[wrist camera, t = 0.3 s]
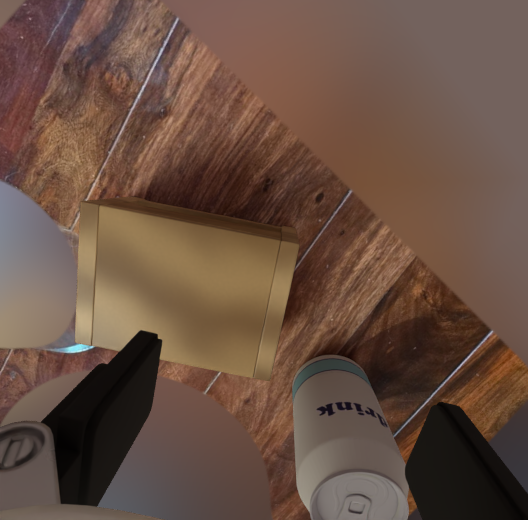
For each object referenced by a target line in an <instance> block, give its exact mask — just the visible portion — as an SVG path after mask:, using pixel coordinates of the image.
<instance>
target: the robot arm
mask: <svg viewBox="0 0 528 520" xmlns="http://www.w3.org/2000/svg"><path fill="white" fill-rule="evenodd" d="M161 348H162V339H158V334H156V333H152V332H148V331H144V330H140V331H139V332H138V333H137V334H136V335H135V336H134V337H133V338H132V339H131V340H130V341H129V342H128V343H127V344H126V345H125V347H124V348H123V349H122V350H121V351H120V352H119V353H118V354H117V355H116V356H115V357H114V358H113V359H112V360H111V361H110V362H109V363H108V364H104V363H101V364H99V365H98V366H96V367H95V368H94V369H93V370H92V371H91V372H90V373H89V374H88V375H87V376H86V377H85V378H84V379H83V380H82V381H81V382H80V383H79V384H78V385H77V387H75V388H74V389H73V390H72V391H71V392H70V393H69V394H68V395H67V396H66V397H65V399H63V400H62V401H61V402H60V403H59V404H58V405H57V406H56V407H55V408H54V409H53V410H52V411H51V412H50V413H49V415H47V416H46V417H45V418H44V419H43V420H42V421H41V422H37V421H21V422H14V423H11V424H8V425H5V426H2V427H0V520H164V519H158V518H154V517H149V516H144V515H140V514H135V513H130V512H125V511H120V510H114V509H108V508H101V507H97V506H98V504H99V502H100V500H101V499H102V497H103V495H104V493H105V492H106V490H107V488H108V486H109V485H110V483H111V481H112V479H113V478H114V476H115V474H116V472H117V471H118V469H119V467H120V465H121V463H122V462H123V460H124V458H125V456H126V454H127V453H128V451H129V449H130V448H131V446H132V444H133V442H134V441H135V439H136V437H137V435H138V433H139V432H140V430H141V428H142V426H143V424H144V423H145V421H146V419H147V418H148V416H149V413H150V411H151V407H152V403H153V397H154V390H155V385H156V379H157V373H158V366H159V360H160V354H161ZM405 478H406V481H407V483H408V485H409V488H410V490H411V493H412V495H413V498H414V500H415V503H416V505H417V507H418V510H419V512H420V515H421V517H422V519H423V520H528V494H527V492H526V491H525V490H524V489H523V487H522V486H521V485H520V483H519V482H518V481H517V479H516V478H515V477H514V476H513V474H512V473H511V472H510V470H509V469H508V468H507V467H506V465H505V464H504V463H503V461H502V460H501V459H500V457H499V456H498V455H497V454H496V452H495V451H494V450H493V449H492V447H491V446H490V445H489V443H488V442H487V441H486V439H485V438H484V437H483V436H482V434H481V433H480V432H479V430H478V429H477V428H476V427H475V425H474V424H473V423H472V421H471V420H470V419H469V418H468V416H467V415H466V414H465V412H464V411H463V410H462V409H461V408H460V407H459V406H456V405H452V404H448V403H444V402H439V403H438V404H437V405H433V406H432V407H431V409H430V412H429V414H428V416H427V418H426V421H425V423H424V425H423V427H422V430H421V432H420V434H419V436H418V439H417V441H416V443H415V445H414V448H413V450H412V452H411V455H410V457H409V459H408V461H407V464H406V466H405Z"/></svg>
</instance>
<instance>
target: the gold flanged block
mask: <svg viewBox="0 0 528 520" xmlns="http://www.w3.org/2000/svg"><path fill="white" fill-rule="evenodd" d="M299 246H300V244H299V240H298V236H297V233H296V229H295V228H292V227H287V226H281V227H280V226H275V225H270V224H265V223H260V222H255V221H250V220H244V219H239V218H234V217H229V216H224V215H219V214H213V213H208V212H203V211H198V210H193V209H188V208H183V207H177V206H172V205H167V204H162V203H157V202H152V201H147V200H146V199H143V198H138V197H133V196H132V197H121V198H110V199H99V200H88V201H81V202H80V225H79V250H78V276H77V301H76V326H75V343H79V344H84V345H89V346H95V347H100V348H105V349H110V350H115V351H121V350H122V349H123V348H124V347H125V345H126V344H127V343H128V342H129V341H130V340H131V339H132V338H133V337H134V336H135V335H136V334H137V333H138V332H139V331H140V330H144V331H148V332H152V333H156V334H158V339H162V348H161V354H160V360H165V361H170V362H175V363H180V364H185V365H190V366H195V367H200V368H205V369H210V370H215V371H220V372H225V373H230V374H235V375H240V376H245V377H250V378H253V377H254V378H255V379H260V380H265V381H270V379H271V374H272V370H273V365H274V360H275V356H276V351H277V347H278V342H279V338H280V333H281V328H282V324H283V319H284V315H285V310H286V306H287V301H288V297H289V292H290V287H291V283H292V278H293V274H294V269H295V265H296V260H297V255H298V251H299Z"/></svg>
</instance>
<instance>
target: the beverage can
mask: <svg viewBox="0 0 528 520" xmlns="http://www.w3.org/2000/svg"><path fill="white" fill-rule="evenodd" d="M292 394H293V416H294V438H295V460H296V481H297V489H298V492H299V495H300V497H301V499H302V501H303V503H304V504H305V506H306V507H307V509H308V510H309V512H310V516H311V519H312V520H407V518H408V513H409V507H408V502H407V496H408V490H409V485H408V483H407V481H406V478H405V466H406V465H405V463H404V461H403V458H402V456H401V454H400V451H399V449H398V447H397V444H396V442H395V440H394V437H393V435H392V433H391V431H390V428H389V426H388V424H387V421H386V419H385V417H384V414H383V412H382V410H381V408H380V405H379V403H378V401H377V398H376V396H375V394H374V391H373V389H372V387H371V385H370V382H369V380H368V378H367V375H366V373H365V372H364V370H363V369H362V368H361V367H360V366H359V365H358V364H357V363H356V362H354V361H353V360H351V359H349V358H346V357H343V356H339V355H323V356H319V357H316V358H313V359H311V360H309V361H308V362H306V363H305V364H304V365H303V366H302V367H301V368H300V369H299V370H298V372H297V373H296V375H295V377H294V380H293V385H292Z"/></svg>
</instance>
